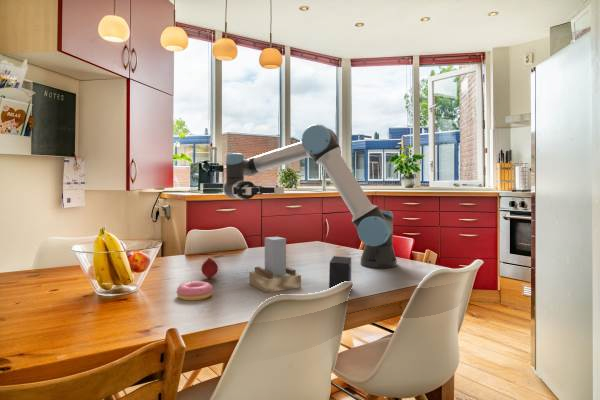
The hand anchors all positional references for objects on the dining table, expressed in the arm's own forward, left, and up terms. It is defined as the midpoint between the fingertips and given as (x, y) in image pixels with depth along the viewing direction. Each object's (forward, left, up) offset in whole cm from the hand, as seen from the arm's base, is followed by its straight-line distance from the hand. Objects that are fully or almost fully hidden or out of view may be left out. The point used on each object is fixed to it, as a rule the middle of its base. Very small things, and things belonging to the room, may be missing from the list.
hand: (267, 191), depth 149 cm
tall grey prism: (-1, +14, -28) cm, 31 cm away
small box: (-21, +25, -32) cm, 46 cm away
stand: (-1, +14, -32) cm, 35 cm away
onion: (+21, 0, -32) cm, 38 cm away
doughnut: (+25, +22, -32) cm, 46 cm away
